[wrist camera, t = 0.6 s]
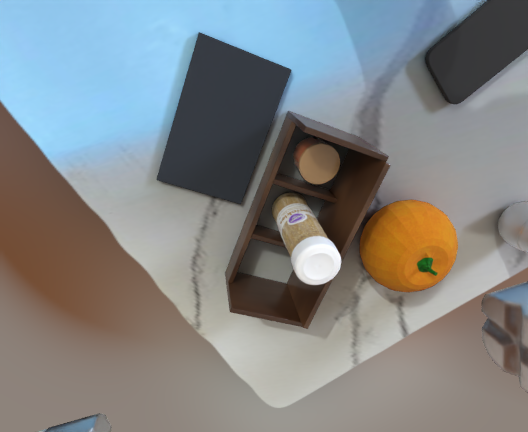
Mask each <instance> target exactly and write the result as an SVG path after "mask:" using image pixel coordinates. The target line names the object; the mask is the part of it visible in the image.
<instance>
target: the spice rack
mask: <svg viewBox="0 0 528 432" xmlns="http://www.w3.org/2000/svg"><path fill="white" fill-rule="evenodd" d="M296 125H297V126H298V127H299V128H300V129H301V130H302V131H303V132H305V133H307V134H310V135H313V136H316V137H319V138H321V139H324V140H327V141H330V142H332V143H335V144H338V145H341V146H344V147H346V148H349V150H348V152H347V154H346V156H345V159H344V161H343V163H342V165H341V167H340V169H339V172H338V174H337V176H336V178H335V180H334V182H333V185H332V187H331V189H330V190H329V189H326V188H322V187H319V186H316V185H313V184H310V183H307V182H304V181H301V180H297V179H294V178H291V177H288V176H285V175H282V174H279V173H277V172H278V169H279V167H280V164H281V162H282V159H283V157H284V154H285V152H286V149H287V147H288V144H289V142H290V139H291V137H292V134H293V132H294V129H295V127H296ZM388 157H389V156H387V155H386V154H384V153H383V152H381V151H380V150H378V149H377V148H375V147H374V146H372V145H370V144H369V143H367V142H366V141H364V140H363V139H361V138H360V137H358V136H355V135H352V134H350V133H347V132H344V131H341V130H339V129H336V128H333V127H331V126H328V125H325V124H323V123H320V122H317V121H315V120H312V119H309V118H307V117H304V116H301V115H299V114H296V113H293V112H291V111H288V113H287V115H286V118H285V120H284V123H283V125H282V128H281V131H280V133H279V136H278V138H277V141H276V143H275V146H274V149H273V151H272V154H271V156H270V159H269V161H268V164H267V167H266V169H265V172H264V174H263V177H262V179H261V182H260V185H259V187H258V190H257V192H256V195H255V197H254V200H253V202H252V205H251V208H250V210H249V213H248V215H247V218H246V220H245V223H244V226H243V228H242V231H241V233H240V236H239V238H238V241H237V244H236V246H235V249H234V251H233V254H232V256H231V259H230V262H229V264H228V267H227V270H226V272H225V276H226V284H227V292H228V300H229V308H230V312H232V313H237V314H242V315H247V316H252V317H257V318H262V319H266V320H271V321H276V322H281V323H286V324H291V325H296V326H301V327H303V328H306V329H308V327H309V325H310V323H311V321H312V319H313V317H314V315H315V313H316V311H317V309H318V307H319V305H320V303H321V301H322V299H323V297H324V295H325V293H326V291H327V289H328V287H329V285H330V283H331V281H332V279H331V280H330V281H328V282H326V283H324V284H320V285H309V284H306V283H304V282H302V281H301V280H300V279H299V278H298V277H297V275H296V273H295V271H294V269H293V272H292V274H291V276H290V278H289V280H288V282H287V284H286V283H282V282H277V281H273V280H269V279H265V278H260V277H256V276H252V275H248V274H243V273H239V272H237V271H238V269H239V266H240V264H241V261H242V259H243V256H244V254H245V251H246V249H247V246H248V244H249V241H250V239H251V238H252V239H256V240H260V241H263V242H267V243H271V244H275V245H278V246H282V247H286V246H285V244H284V241H283V239H282V237H281V234H280V232H279V231H276V230H272V229H269V228H265V227H262V226H258V225H256V224H257V221H258V219H259V216H260V214H261V211H262V209H263V206H264V204H265V201H266V199H267V196H268V194H269V191H270V189H271V187H272V184H275V185H278V186H281V187H285V188H288V189H291V190H294V191H297V192H301V193H304V194H307V195H310V196H313V197H317V198H320V199H323V200H325V202H324V204H323V206H322V209H321V211H320V213H319V215H318V217H317V220H318V223H319V224H320V226H321V227H322V229H323V231H324V232H325V234H326V236H327V237H328V239H329V240H330V241H332V242H333V244H334V245H335V247H336V248H337V250H338V252H339V254H340V256H341V262H342V260H343V258H344V256H345V254H346V252H347V250H348V248H349V246H350V244H351V242H352V240H353V238H354V236H355V234H356V232H357V230H358V228H359V226H360V224H361V222H362V220H363V218H364V216H365V214H366V212H367V210H368V208H369V206H370V205H371V203H372V201H373V199H374V197H375V195H376V193H377V191H378V189H379V187H380V185H381V183H382V181H383V179H384V177H385V175H386V173H387V171H388V169H389V167H390V164H388V163H387V162H386V161H387V159H388Z"/></svg>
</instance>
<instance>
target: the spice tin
mask: <svg viewBox="0 0 528 432" xmlns="http://www.w3.org/2000/svg"><path fill="white" fill-rule="evenodd" d="M293 160H294V164H295V166H296V167H297V168H298V170H299V171H300V174H301V175H302V177H303V178H304V179H305V180H306V181H307V182H309V183H312V184H323V183H326V182H328V181H330V180H331V179H332V178H334V176H335V175H336V174H337V172H338V170H339V167H340V157H339V154H338V152H337V151H336V150H335V149H334V148H333V147H332V146H331V145H329V144H327V143H326V142H325V141H324V140H322V139H320V138H318V137H309V138H306V139H304V140H302V141H301V142H300V143H299V144H298V145H297V146H296V148H295V150H294V154H293Z"/></svg>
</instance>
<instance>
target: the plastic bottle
mask: <svg viewBox="0 0 528 432" xmlns="http://www.w3.org/2000/svg"><path fill="white" fill-rule="evenodd" d="M498 229H499V233H500V235H501V237H502V238H503V239H504V240H505V241H506V242H507V243H508V244H509V245H511V246H513V247H515V248H517V249H519V250H521V251H524V252H527V253H528V201H524V202H519V203H515V204H513V205H511V206H509V207H508V208H507V209H506V210H505V211H504V212H503V213H502V214H501V216H500V218H499V222H498Z"/></svg>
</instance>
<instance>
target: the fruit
mask: <svg viewBox="0 0 528 432" xmlns="http://www.w3.org/2000/svg"><path fill="white" fill-rule="evenodd" d="M457 249H458V241H457V236H456V231H455V228H454V226H453V225H452V223H451V222H450V220H449V219H448V217H447V215H445V214H444V213H443V212H442V211H441V210H439V209H437V208H436V207H434V206H433V205H431V204H429V203H426V202H421V201H417V200H404V201H396V202H394V203H391V204H389V205H387V206H384V207H383V208H382V209H380V210H379V211H378V212H376V213H375V214H374V215H373V216H372V217H371V218H370V220H369V221H368V222H367V224H366V225H365V227H364V230H363V232H362V235H361V238H360V256H361V259H362V262H363V265H364V267H365V269H366V270H367V272H368V273H369V274H370V275H371V276H372V277H373V279H374V280H375V281H376V282H378V283H379V284H381V285H383V286H385V287H387V288H389V289H391V290H394V291H401V292H414V291H421V290H424V289H427V288H429V287H432V286H434V285H435V284H437V283H438V282H439V281H441V280H442V279H443V278H444V277H445V276H446V275H447V274H448V273H449V271H450V270H451V268H452V266H453V264H454V262H455V259H456V255H457Z"/></svg>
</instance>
